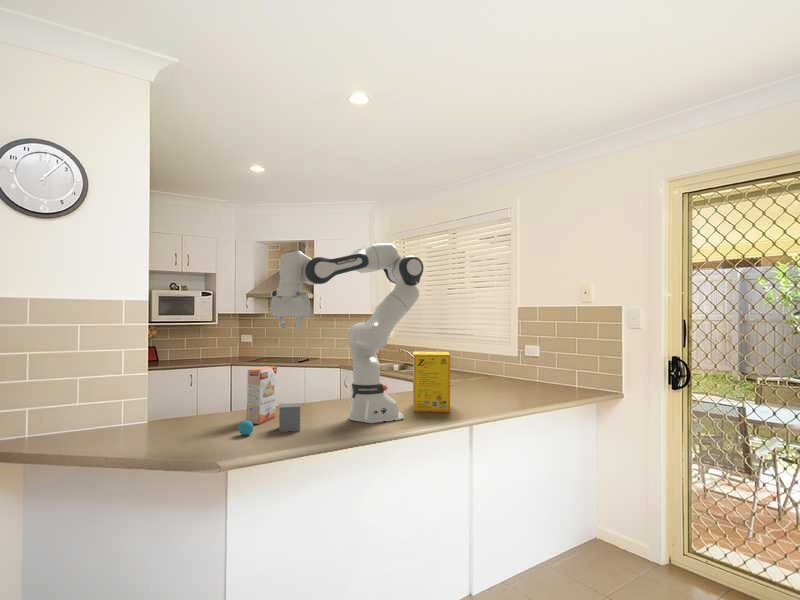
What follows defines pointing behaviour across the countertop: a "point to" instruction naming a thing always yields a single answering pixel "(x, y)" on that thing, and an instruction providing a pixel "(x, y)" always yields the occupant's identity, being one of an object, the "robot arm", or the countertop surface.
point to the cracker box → (261, 394)
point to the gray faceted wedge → (289, 417)
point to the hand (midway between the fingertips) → (290, 328)
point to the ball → (245, 427)
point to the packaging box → (431, 381)
